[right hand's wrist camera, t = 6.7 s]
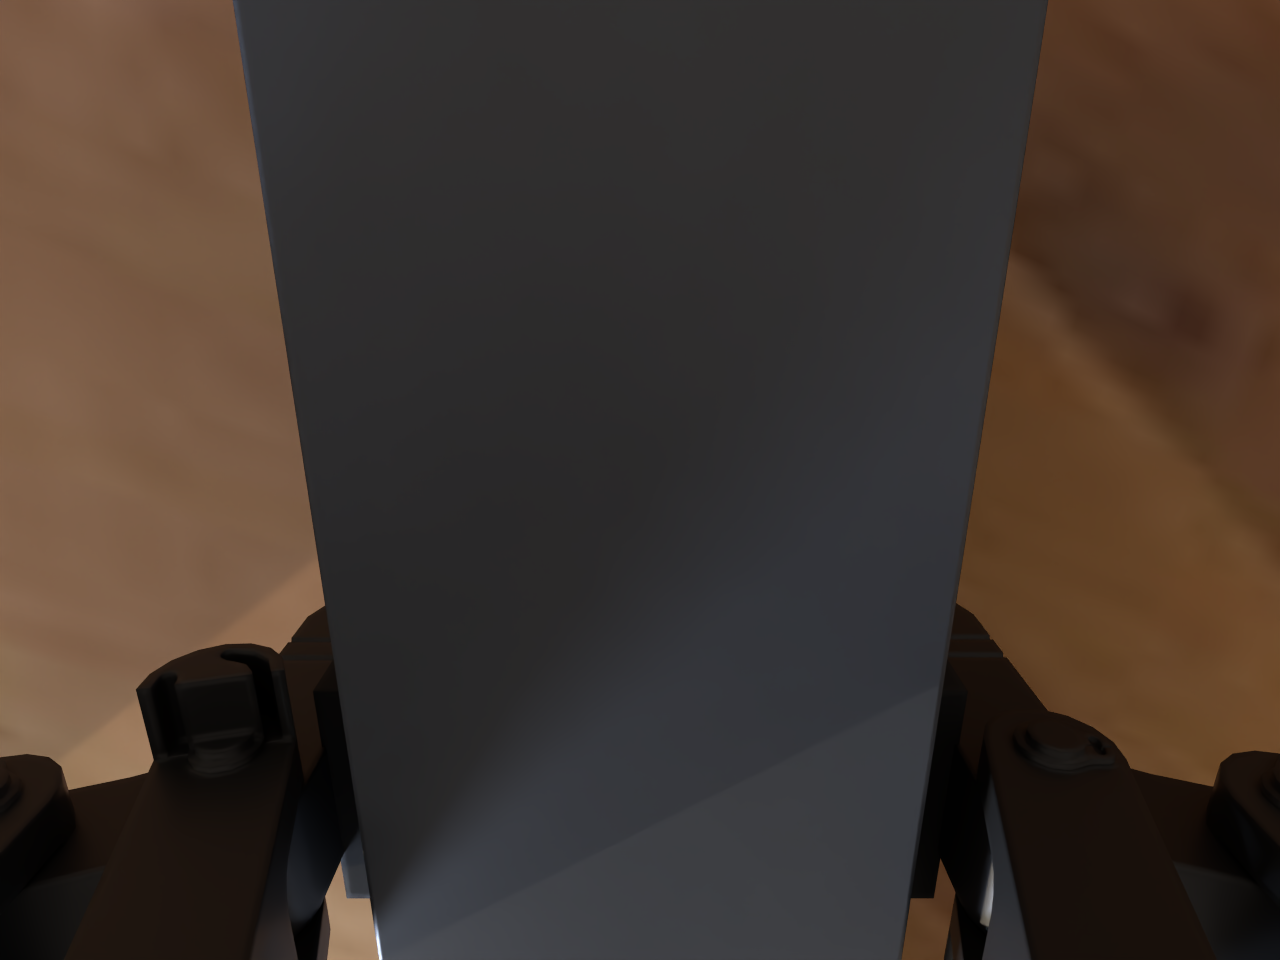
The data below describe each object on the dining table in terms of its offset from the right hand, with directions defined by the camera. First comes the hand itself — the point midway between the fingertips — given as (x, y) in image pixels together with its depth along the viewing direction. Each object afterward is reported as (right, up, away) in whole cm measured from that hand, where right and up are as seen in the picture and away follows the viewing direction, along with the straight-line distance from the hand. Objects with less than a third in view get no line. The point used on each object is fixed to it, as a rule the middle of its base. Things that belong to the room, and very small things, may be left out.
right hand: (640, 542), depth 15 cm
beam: (0, -18, +7) cm, 20 cm away
